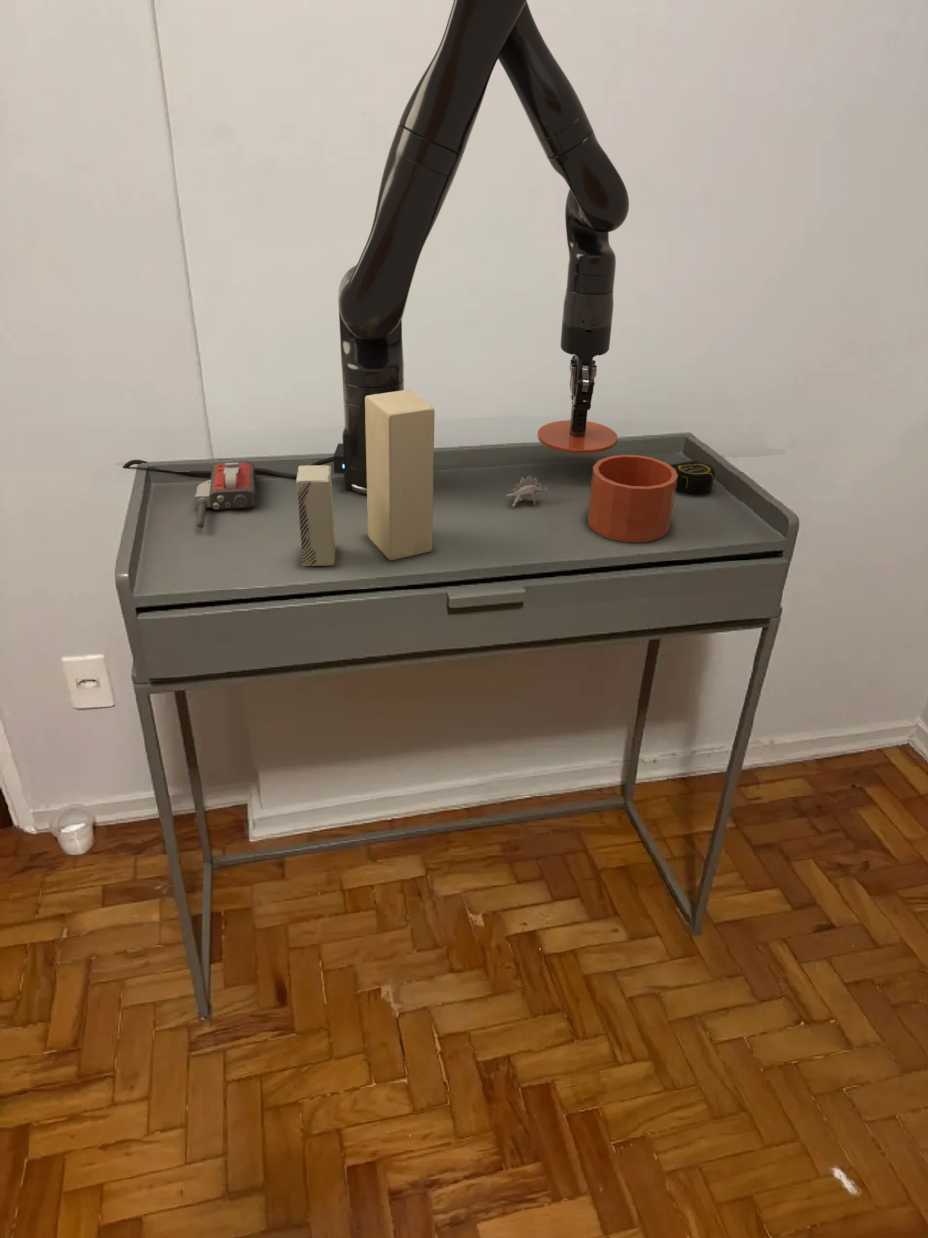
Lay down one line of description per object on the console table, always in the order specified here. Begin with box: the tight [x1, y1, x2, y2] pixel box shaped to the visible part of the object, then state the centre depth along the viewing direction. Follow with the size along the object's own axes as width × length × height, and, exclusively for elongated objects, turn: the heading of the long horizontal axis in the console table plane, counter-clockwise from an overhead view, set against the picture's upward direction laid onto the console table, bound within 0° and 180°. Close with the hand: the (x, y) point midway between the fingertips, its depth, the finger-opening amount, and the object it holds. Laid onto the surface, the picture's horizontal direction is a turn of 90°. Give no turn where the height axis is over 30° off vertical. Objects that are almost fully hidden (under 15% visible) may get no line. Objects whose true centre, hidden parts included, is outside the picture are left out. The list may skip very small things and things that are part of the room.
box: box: [296, 464, 336, 567], centre depth 125 cm, size 5×4×13 cm
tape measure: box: [669, 460, 716, 493], centre depth 149 cm, size 7×7×4 cm
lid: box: [536, 401, 618, 454], centre depth 151 cm, size 13×13×6 cm
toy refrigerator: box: [365, 389, 436, 561], centre depth 126 cm, size 8×7×21 cm
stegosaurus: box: [506, 474, 549, 507], centre depth 143 cm, size 2×7×5 cm, turn 109°
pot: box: [587, 454, 678, 543], centre depth 137 cm, size 12×12×8 cm
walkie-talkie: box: [194, 460, 257, 529], centre depth 141 cm, size 9×4×20 cm
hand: (577, 426), depth 151 cm, fingers closed on lid, 2 cm apart
